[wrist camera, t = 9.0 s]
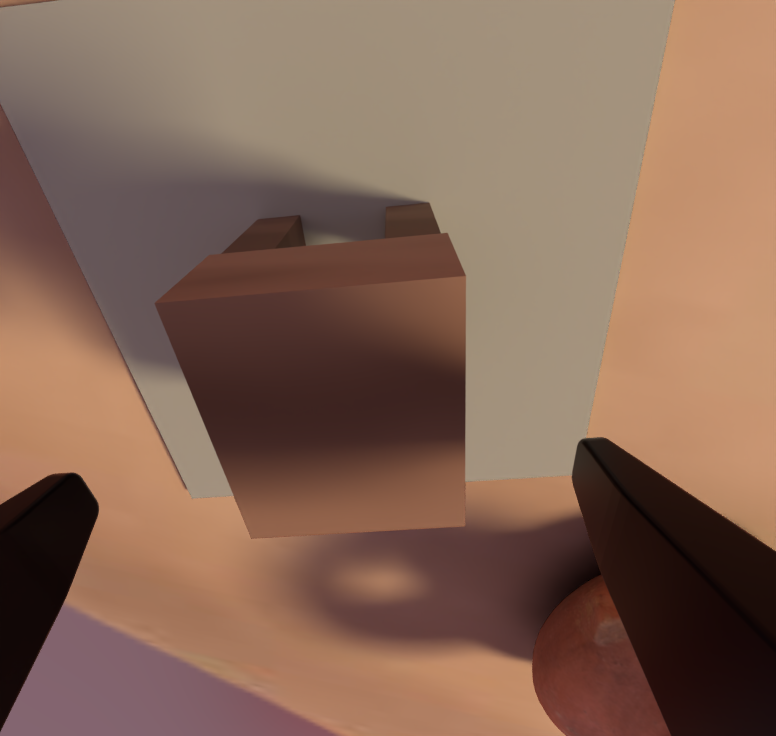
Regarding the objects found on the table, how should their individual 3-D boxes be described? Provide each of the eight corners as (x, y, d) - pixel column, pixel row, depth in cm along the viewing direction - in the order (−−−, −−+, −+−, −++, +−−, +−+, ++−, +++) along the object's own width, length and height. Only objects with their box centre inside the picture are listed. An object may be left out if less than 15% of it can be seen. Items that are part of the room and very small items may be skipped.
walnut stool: (439, 380, 15) (465, 526, 10) (297, 390, 15) (251, 538, 10) (433, 198, 12) (466, 275, 7) (253, 215, 12) (154, 302, 7)
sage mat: (679, -71, 9) (690, -77, 9) (574, 467, 18) (578, 474, 17) (-29, 15, 10) (-44, 12, 10) (195, 491, 19) (192, 498, 18)
